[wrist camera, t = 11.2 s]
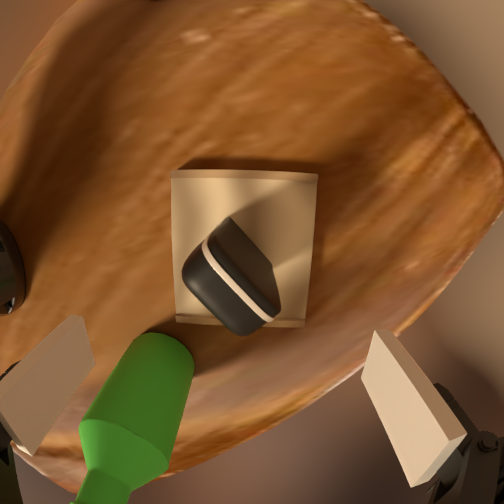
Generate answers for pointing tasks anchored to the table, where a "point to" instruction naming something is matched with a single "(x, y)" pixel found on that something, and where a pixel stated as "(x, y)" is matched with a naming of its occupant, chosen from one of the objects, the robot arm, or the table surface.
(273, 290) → the battery charger
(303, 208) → the board
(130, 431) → the bottle
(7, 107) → the table surface
